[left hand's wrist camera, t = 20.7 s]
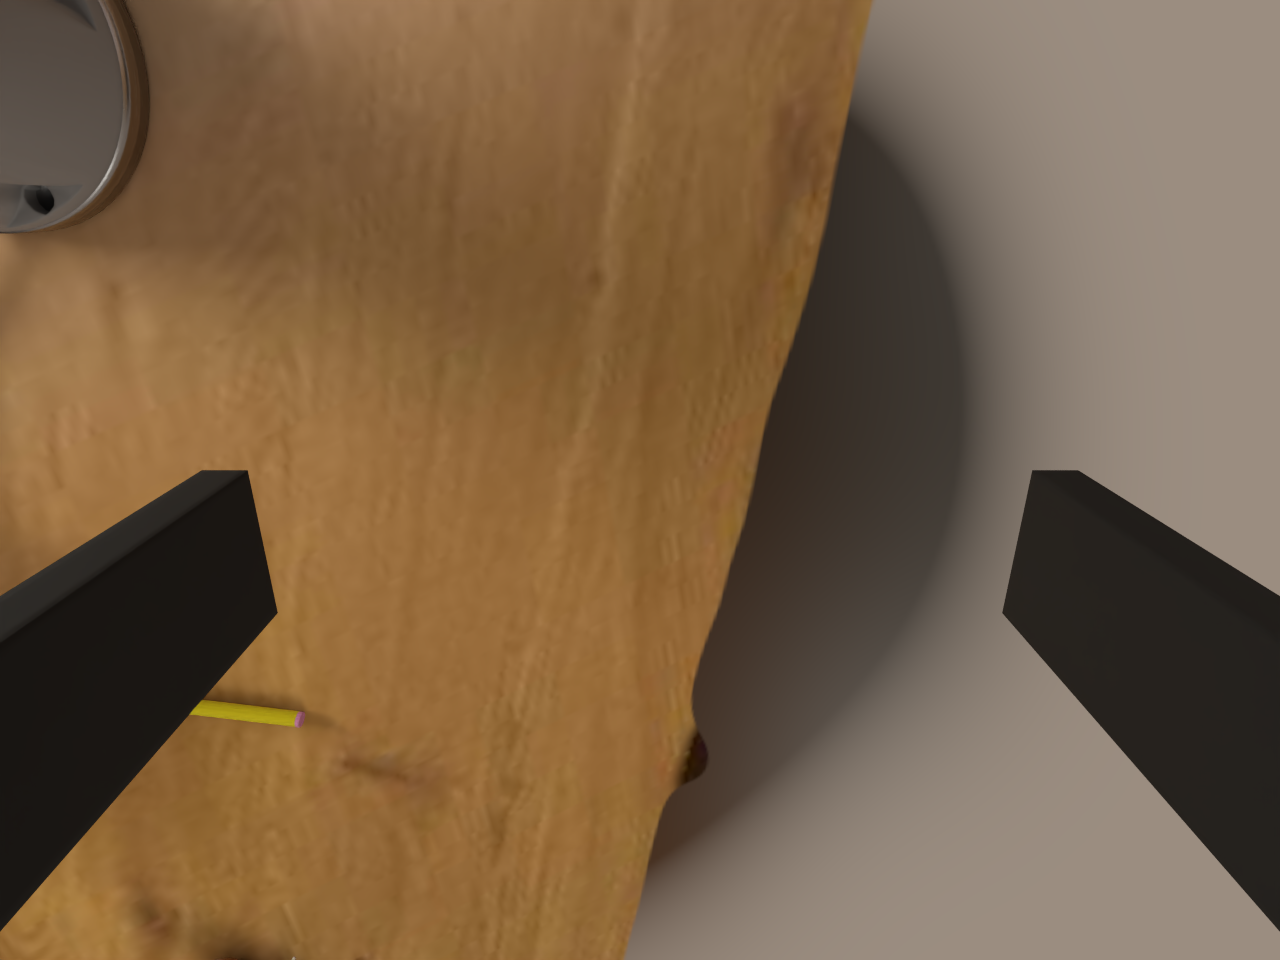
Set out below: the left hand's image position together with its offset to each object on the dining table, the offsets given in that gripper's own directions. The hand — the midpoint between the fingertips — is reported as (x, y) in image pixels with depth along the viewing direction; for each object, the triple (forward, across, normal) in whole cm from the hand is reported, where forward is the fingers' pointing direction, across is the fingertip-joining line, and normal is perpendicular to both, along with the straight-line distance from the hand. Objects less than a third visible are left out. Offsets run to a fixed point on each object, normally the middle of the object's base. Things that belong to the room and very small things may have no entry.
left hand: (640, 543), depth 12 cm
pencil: (+28, +30, +25) cm, 49 cm away
